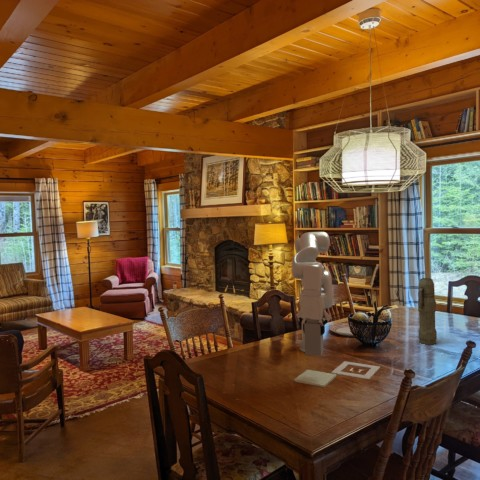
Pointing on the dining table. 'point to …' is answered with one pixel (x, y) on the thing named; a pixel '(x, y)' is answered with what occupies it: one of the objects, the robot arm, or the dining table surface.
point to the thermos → (427, 312)
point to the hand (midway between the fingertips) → (313, 333)
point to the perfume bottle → (313, 338)
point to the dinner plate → (341, 329)
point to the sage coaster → (315, 378)
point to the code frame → (366, 376)
